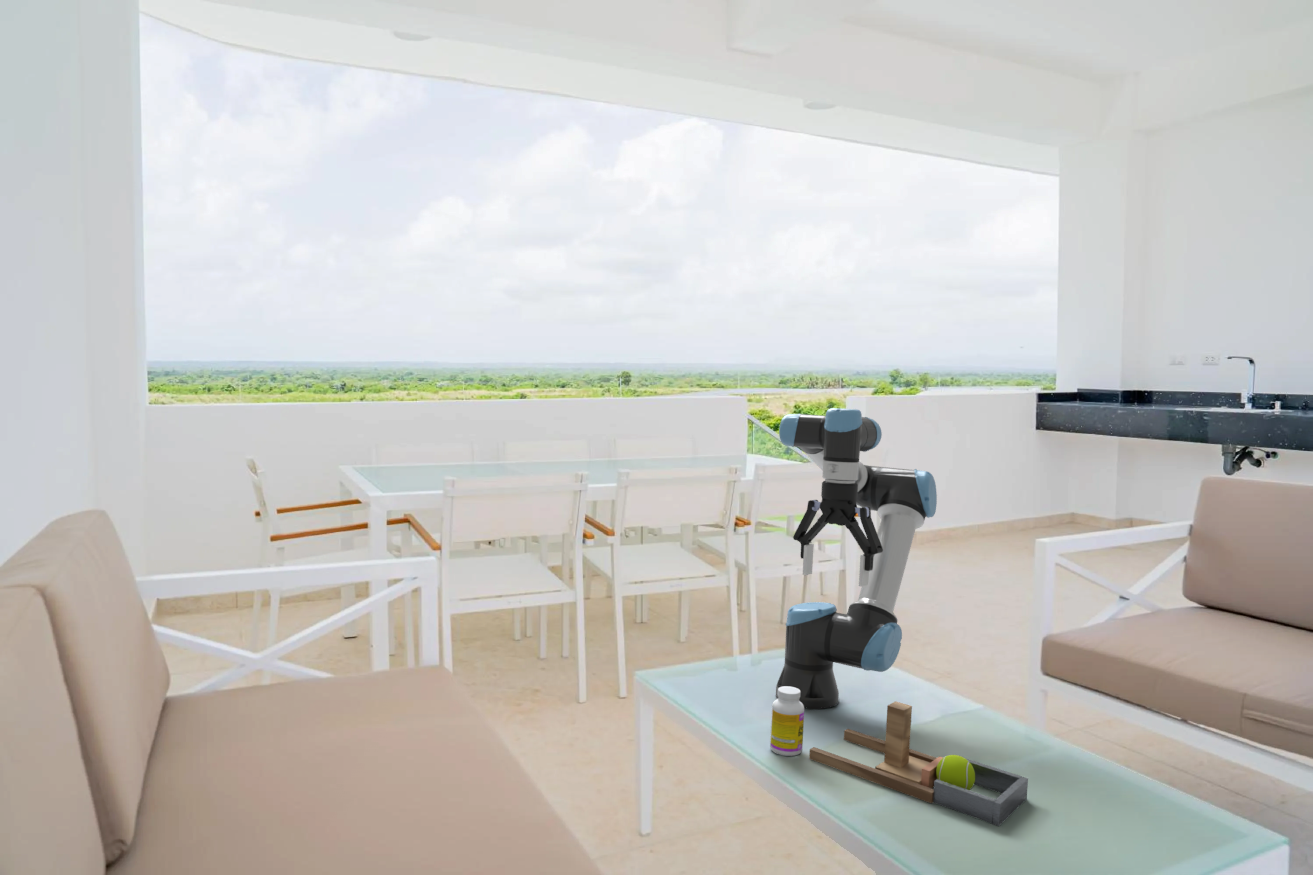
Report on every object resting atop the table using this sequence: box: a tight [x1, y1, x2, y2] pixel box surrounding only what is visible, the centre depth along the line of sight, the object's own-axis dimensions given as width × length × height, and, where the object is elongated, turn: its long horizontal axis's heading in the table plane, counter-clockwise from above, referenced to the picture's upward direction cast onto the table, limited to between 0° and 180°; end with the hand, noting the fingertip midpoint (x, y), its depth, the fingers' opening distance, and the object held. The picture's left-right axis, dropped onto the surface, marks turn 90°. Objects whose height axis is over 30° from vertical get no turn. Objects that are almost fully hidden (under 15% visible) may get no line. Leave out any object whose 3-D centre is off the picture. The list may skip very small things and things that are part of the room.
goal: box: [932, 757, 1029, 827], centre depth 160 cm, size 14×12×4 cm
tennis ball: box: [936, 754, 975, 791], centre depth 163 cm, size 7×7×7 cm
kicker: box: [874, 700, 944, 789], centre depth 169 cm, size 10×10×13 cm
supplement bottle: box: [769, 686, 805, 757], centre depth 179 cm, size 7×7×13 cm
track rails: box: [808, 728, 937, 804], centre depth 173 cm, size 16×26×2 cm, turn 48°
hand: (834, 579), depth 184 cm, fingers open, 13 cm apart
